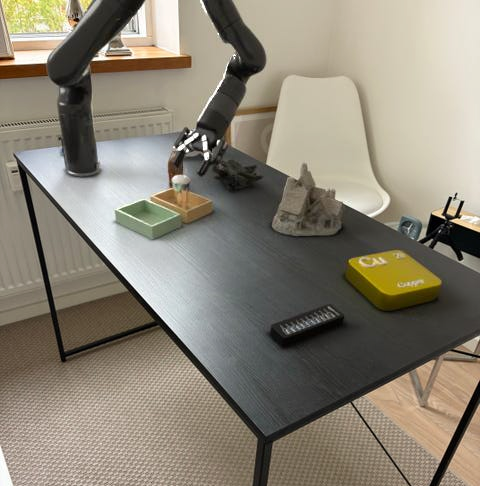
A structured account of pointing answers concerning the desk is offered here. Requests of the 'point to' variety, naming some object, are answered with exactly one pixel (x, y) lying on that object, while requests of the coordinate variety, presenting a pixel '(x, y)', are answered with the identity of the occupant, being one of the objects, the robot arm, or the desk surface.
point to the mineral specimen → (235, 174)
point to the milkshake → (181, 190)
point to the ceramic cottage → (307, 208)
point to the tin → (174, 168)
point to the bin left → (148, 218)
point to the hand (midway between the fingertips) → (186, 170)
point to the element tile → (392, 280)
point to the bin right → (196, 205)
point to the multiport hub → (306, 325)
